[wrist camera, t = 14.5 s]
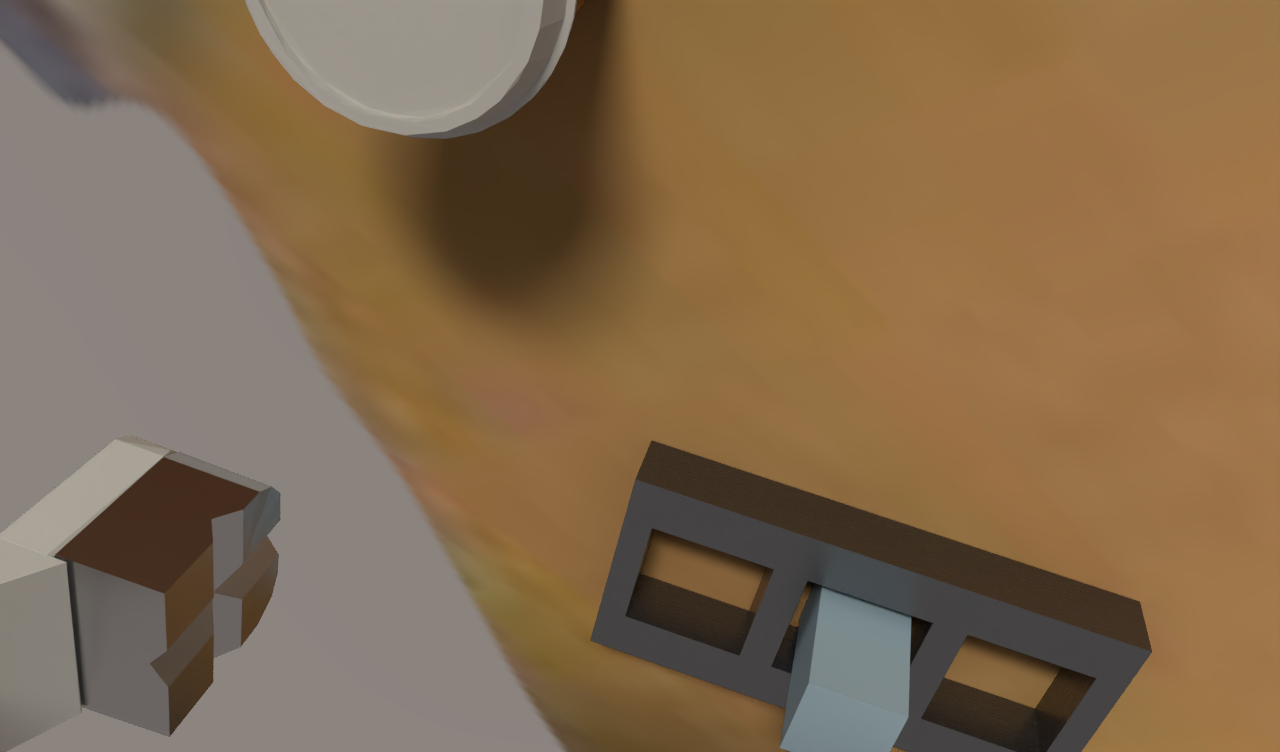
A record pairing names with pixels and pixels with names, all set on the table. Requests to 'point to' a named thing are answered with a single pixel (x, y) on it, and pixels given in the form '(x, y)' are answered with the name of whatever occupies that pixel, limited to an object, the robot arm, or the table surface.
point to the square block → (847, 676)
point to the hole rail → (876, 572)
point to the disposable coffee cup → (418, 57)
